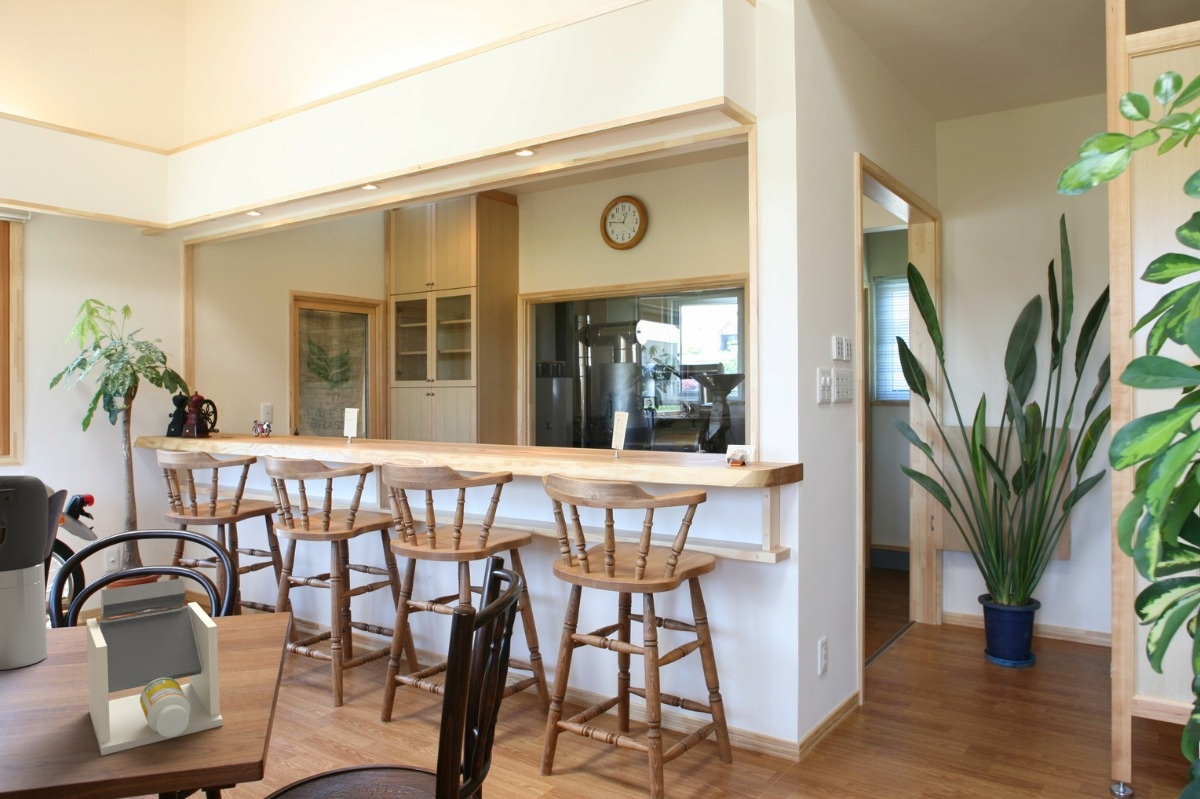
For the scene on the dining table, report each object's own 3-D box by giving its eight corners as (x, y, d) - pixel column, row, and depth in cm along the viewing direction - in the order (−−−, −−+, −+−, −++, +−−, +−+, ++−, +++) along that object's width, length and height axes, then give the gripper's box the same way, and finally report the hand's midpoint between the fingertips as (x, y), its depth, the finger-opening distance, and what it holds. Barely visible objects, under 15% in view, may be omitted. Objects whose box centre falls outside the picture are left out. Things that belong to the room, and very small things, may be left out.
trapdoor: (96, 607, 125) (97, 590, 123) (183, 594, 132) (185, 577, 130) (107, 693, 115) (108, 676, 113) (201, 674, 122) (203, 657, 120)
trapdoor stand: (89, 711, 123) (86, 619, 123) (198, 687, 132) (195, 601, 132) (101, 755, 109) (98, 651, 108) (222, 725, 117) (220, 629, 117)
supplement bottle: (151, 672, 117) (164, 699, 110) (187, 681, 120) (202, 707, 113) (131, 708, 116) (143, 738, 109) (168, 716, 119) (182, 745, 112)
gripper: (-139, 483, 100) (21, 471, 111) (-149, 475, 109) (-1, 464, 121) (-136, 545, 100) (23, 525, 112) (-147, 530, 110) (0, 514, 121)
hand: (10, 493), depth 116 cm, fingers open, 8 cm apart
